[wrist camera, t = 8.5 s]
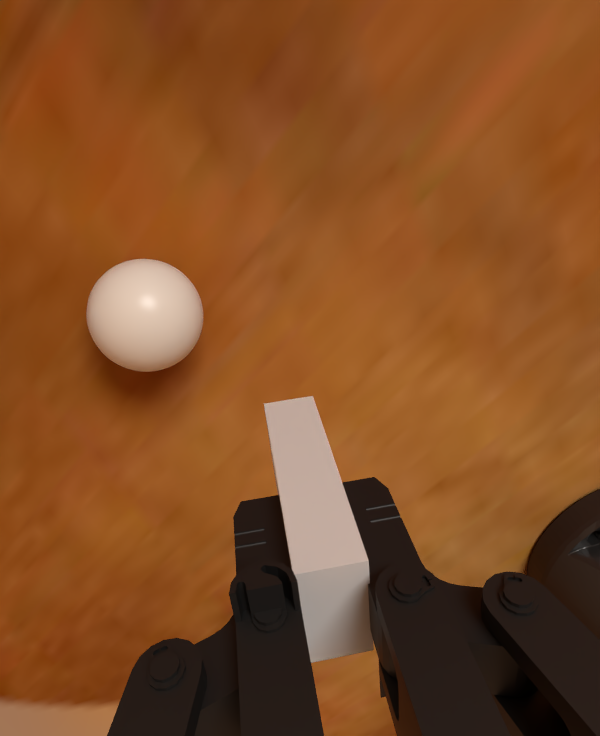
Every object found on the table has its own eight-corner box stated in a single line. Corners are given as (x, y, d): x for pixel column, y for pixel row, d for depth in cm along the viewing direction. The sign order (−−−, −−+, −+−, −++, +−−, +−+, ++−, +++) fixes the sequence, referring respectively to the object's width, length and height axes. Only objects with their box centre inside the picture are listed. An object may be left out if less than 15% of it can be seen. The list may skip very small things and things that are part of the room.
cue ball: (107, 404, 24) (102, 359, 29) (224, 372, 26) (200, 334, 31) (70, 290, 22) (71, 260, 27) (201, 262, 23) (180, 239, 28)
